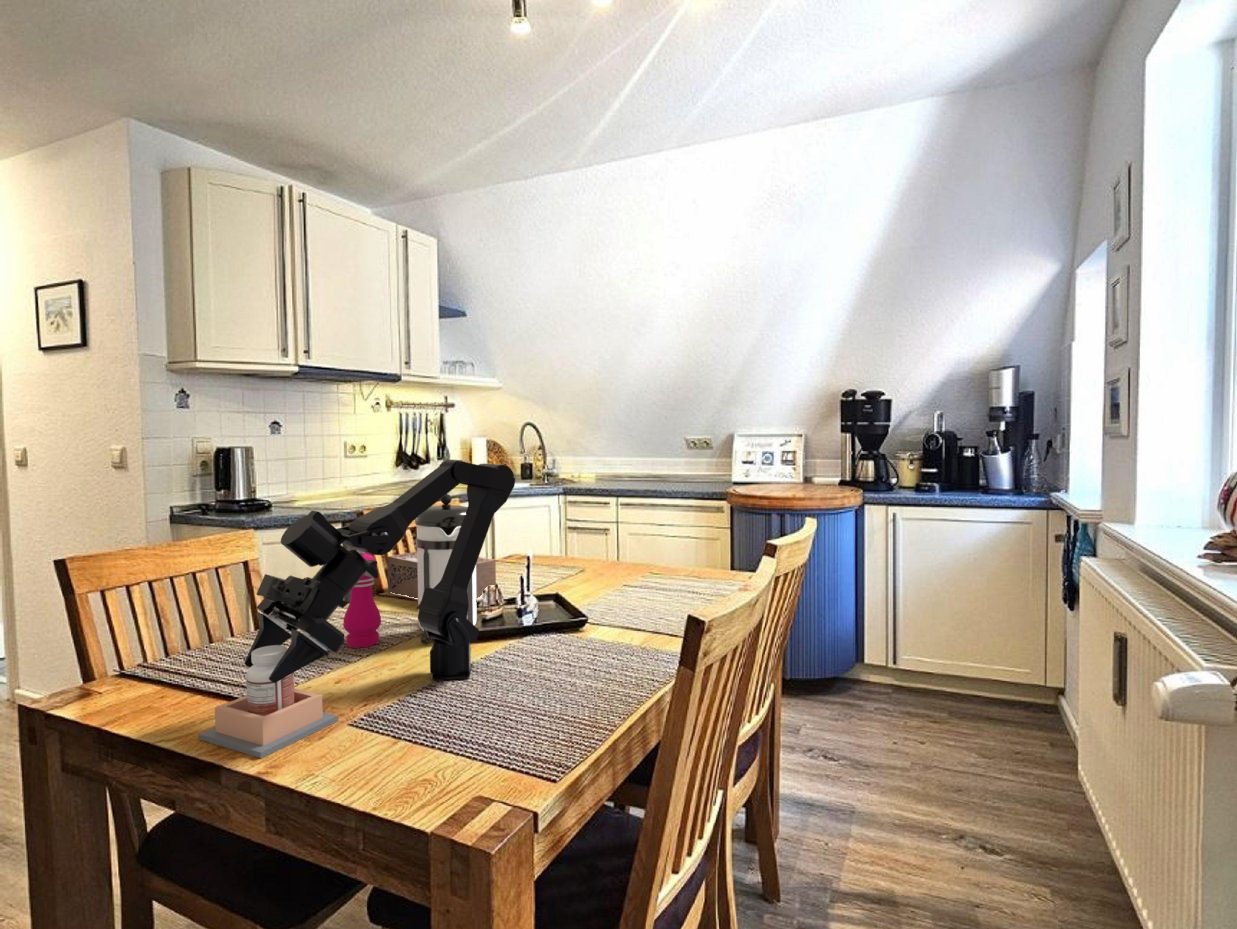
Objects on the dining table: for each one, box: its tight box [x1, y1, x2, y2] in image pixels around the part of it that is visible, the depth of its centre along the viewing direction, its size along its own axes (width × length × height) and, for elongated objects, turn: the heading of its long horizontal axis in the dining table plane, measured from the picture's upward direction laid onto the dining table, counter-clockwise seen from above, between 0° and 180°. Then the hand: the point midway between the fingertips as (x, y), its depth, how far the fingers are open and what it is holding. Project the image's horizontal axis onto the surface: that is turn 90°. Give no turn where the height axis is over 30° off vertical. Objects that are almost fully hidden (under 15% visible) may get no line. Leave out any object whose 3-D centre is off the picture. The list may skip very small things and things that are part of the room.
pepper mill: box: [342, 549, 382, 649], centre depth 142 cm, size 7×7×20 cm
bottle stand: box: [198, 687, 339, 759], centre depth 102 cm, size 13×13×4 cm
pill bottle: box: [245, 644, 295, 716], centre depth 102 cm, size 6×6×11 cm
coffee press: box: [414, 493, 477, 645], centre depth 148 cm, size 17×16×30 cm
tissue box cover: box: [387, 550, 497, 598], centre depth 182 cm, size 26×14×10 cm, turn 52°
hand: (258, 673), depth 101 cm, fingers open, 9 cm apart
